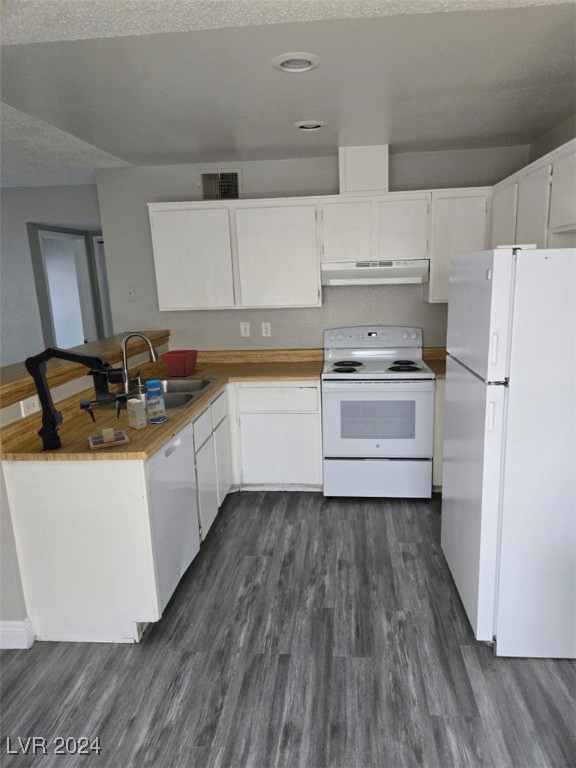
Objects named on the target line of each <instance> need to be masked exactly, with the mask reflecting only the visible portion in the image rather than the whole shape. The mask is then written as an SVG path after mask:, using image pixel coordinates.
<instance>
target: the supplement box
mask: <svg viewBox="0 0 576 768" xmlns="http://www.w3.org/2000/svg"><path fill="white" fill-rule="evenodd" d="M127 400H128V402H126V408H127V409H126V410H127V415H128V416H127V417H128V422H129V423H128V424H129V427H130V428H133V429H135V430H138V431H139V430H142V429H143V430H144V429H147V420H146V419H147V418H146V413H145V402H144V400H142V399H138V398H131V399H127Z"/></svg>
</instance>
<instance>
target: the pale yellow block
mask: <svg viewBox="0 0 576 768" xmlns="http://www.w3.org/2000/svg"><path fill="white" fill-rule="evenodd" d="M114 432H115V431H114V428H113V427H110V428H105V429H101V434H102V436H103V437H102V439H103V442H102V444H106V443H111V442H116V440H115V438H114V437H115V435H114Z"/></svg>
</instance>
